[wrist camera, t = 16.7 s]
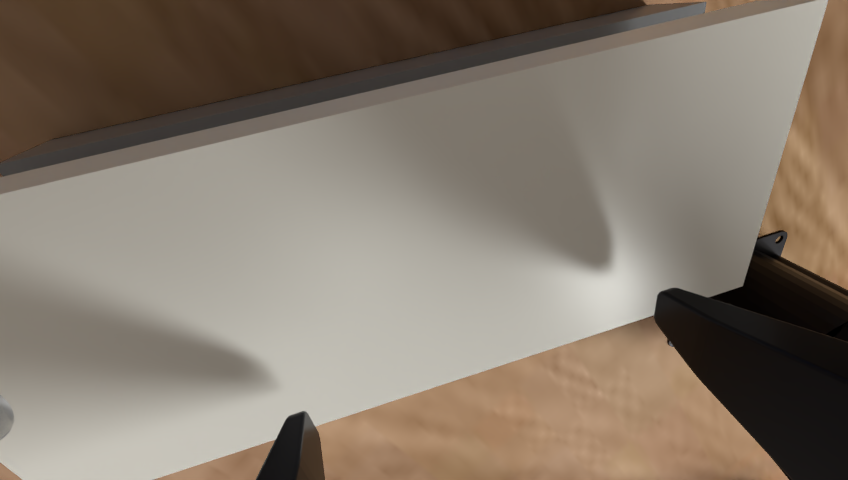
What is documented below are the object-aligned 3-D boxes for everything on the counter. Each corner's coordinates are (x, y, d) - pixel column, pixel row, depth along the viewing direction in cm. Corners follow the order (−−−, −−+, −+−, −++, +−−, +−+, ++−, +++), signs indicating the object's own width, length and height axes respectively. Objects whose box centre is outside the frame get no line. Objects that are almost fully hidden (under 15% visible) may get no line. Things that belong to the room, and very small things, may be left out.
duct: (647, 4, 14) (782, -2, 10) (628, 196, 18) (720, 247, 14) (-29, 157, 12) (-215, 231, 8) (118, 342, 15) (49, 456, 11)
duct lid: (757, 1, 10) (829, -3, 8) (700, 259, 14) (742, 286, 12) (-233, 231, 7) (-359, 279, 6) (46, 465, 11) (10, 525, 10)
